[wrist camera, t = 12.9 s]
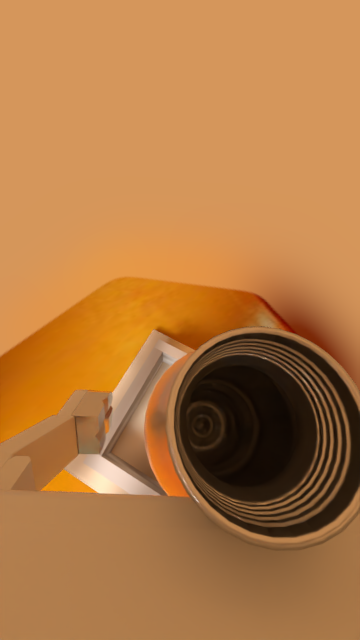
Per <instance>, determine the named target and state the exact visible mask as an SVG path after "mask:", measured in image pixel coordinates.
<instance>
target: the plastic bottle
mask: <svg viewBox="0 0 360 640" xmlns="http://www.w3.org/2000/svg"><path fill="white" fill-rule="evenodd" d="M144 439H145V449H146V453H147V456H148V460H149V463H150V466H151V469H152V471H153V473H154V475H155V477H156V479H157V481H158V483H159V485H160V486H161V487H162V488H163V490H164V491H165V492H166V493H167V495H168V496H185V497H190V498H191V499H192V500H193V501H194V503H195V504H196V505H197V506H198V507H199V509H200V510H201V511H202V512H203V513H204V515H205V516H206V517H208V518H209V519H210V520H211V521H212V522H214V523H215V524H216V525H217V526H219V527H220V528H221V529H222V530H224V531H225V532H226V533H228V534H230V535H232V536H234V537H236V538H238V539H240V540H242V541H244V542H246V543H247V544H250V545H254V546H258V547H262V548H266V549H270V550H274V551H300V550H303V549H307V548H310V547H314V546H317V545H321V544H324V543H325V542H327V541H328V540H330V539H332V538H333V537H335V536H337V535H338V534H340V533H341V532H343V531H344V530H345V529H346V528H347V527H348V526H349V525H350V523H351V522H352V521H353V520H354V519H355V518H356V517H357V516H358V515H359V513H360V391H359V390H358V388H357V386H356V384H355V383H354V381H353V380H352V379H351V378H350V376H349V375H348V374H347V372H346V371H345V370H344V368H343V367H342V366H341V365H340V364H339V363H338V362H337V361H336V360H335V359H334V358H332V357H331V356H330V355H329V354H328V353H327V352H326V351H324V350H323V349H321V348H320V347H318V346H317V345H316V344H314V343H313V342H310V341H309V340H307V339H305V338H303V337H301V336H299V335H297V334H294V333H291V332H288V331H284V330H281V329H276V328H269V327H243V328H238V329H234V330H229V331H227V332H224V333H222V334H220V335H217V336H215V337H213V338H212V339H210V340H209V341H207V342H206V343H204V344H203V345H201V346H200V347H199V348H198V349H197V350H195V351H193V352H190V353H188V354H187V355H185V356H184V357H182V358H181V359H179V360H177V361H176V362H175V363H174V364H173V365H172V366H171V367H170V368H168V369H167V370H166V371H165V373H164V374H163V375H162V377H161V378H160V380H159V381H158V382H157V384H156V386H155V388H154V390H153V392H152V394H151V396H150V398H149V402H148V406H147V409H146V413H145V423H144ZM239 502H246V503H253V504H259V505H247V504H243V503H239Z"/></svg>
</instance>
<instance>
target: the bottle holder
mask: <svg viewBox="0 0 360 640" xmlns="http://www.w3.org/2000/svg"><path fill="white" fill-rule="evenodd" d="M193 351H195V350H194V349H192V348H190V347H188V346H186V345H184V344H182V343H180V342H178V341H176V340H174V339H172V338H170V337H168V336H166V335H164V334H162V333H160V332H158V331H156V330H154V329H153V331H152V333H151V334H150V336H149V337H148V339H147V340H146V342H145V343H144V345H143V347H142V348H141V350H140V351H139V353H138V354H137V356H136V357H135V359H134V361H133V362H132V364H131V365H130V367H129V368H128V370H127V371H126V373H125V375H124V376H123V378H122V379H121V381H120V382H119V384H118V385H117V387H116V389H115V390H114V392H113V393H112V395H113V401H112V403H111V407H112V408H113V419H112V424H111V427H110V430H109V432H108V433H106V441H105V443H104V446H103V448H102V451H101V454H78V456H77V457H76V458H75V459H74V460H73V461H72V462H71V463H69V464H68V465H67V466H66V467H65V468H64V469H65V470H66V471H67V472H69V473H70V474H72V475H73V476H75V477H76V478H78V479H79V480H81V481H82V482H84V483H85V484H86V485H88V486H89V487H91V488H92V489H94V490H95V491H97V492H98V493H108V494H134V495H159V496H168V495H167V493H166V492H165V491H164V490H163V488H162V487H161V486H160V485H159V483H158V481H157V479H156V477H155V475H154V473H153V471H152V469H151V466H150V463H149V460H148V456H147V453H146V449H145V439H144V423H145V413H146V409H147V406H148V402H149V398H150V396H151V394H152V392H153V390H154V388H155V386H156V384H157V382H158V381H159V380H160V378H161V377H162V375H163V374H164V373H165V371H166V370H167V369H168V368H170V367H171V366H172V365H173V364H174V363H175V362H176V361H177V360H179V359H181V358H182V357H184V356H185V355H187V354H188V353H190V352H193Z"/></svg>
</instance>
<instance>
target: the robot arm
mask: <svg viewBox="0 0 360 640" xmlns="http://www.w3.org/2000/svg"><path fill="white" fill-rule="evenodd" d="M112 401H113V395H112V392H108V391H95V390H79V389H78V390H75V391H74V393H73V394H72V395H71V397H70V398H69V399H68V401H67V402H66V403H65V405H64V406H63V407H62V409H61V410H60V412H59V413H58V414H57V415H52V416H51V417H49V418H47V419H45V420H43V421H41V422H39V423H38V424H36V425H34V426H32V427H30V428H28V429H27V430H25V431H23V432H21V433H19V434H17V435H16V436H14V437H12V438H10V439H8V440H6V441H5V442H3V443H1V444H0V640H360V513H359V515H358V516H357V517H356V518H355V519H354V520H353V521H352V522H351V523H350V525H349V526H348V527H347V528H346V529H345V530H344V531H343V532H341V533H340V534H338V535H337V536H335V537H333V538H332V539H330V540H328V541H327V542H325V543H324V544H321V545H317V546H314V547H310V548H307V549H303V550H300V551H274V550H270V549H266V548H262V547H258V546H254V545H250V544H247V543H246V542H244V541H242V540H240V539H238V538H236V537H234V536H232V535H230V534H228V533H226V532H225V531H224V530H222V529H221V528H220V527H219V526H217V525H216V524H215V523H214V522H212V521H211V520H210V519H209V518H208V517H206V516H205V515H204V513H203V512H202V511H201V510H200V509H199V507H198V506H197V505H196V504H195V503H194V501H193V500H192V499H191V498H190V497H185V496H159V495H134V494H108V493H82V492H56V491H40V490H41V489H42V488H43V487H44V486H46V485H47V484H48V483H49V482H50V481H51V480H52V479H53V478H54V477H55V476H56V475H57V474H59V473H60V472H61V471H62V470H63V469H64V468H65V467H66V466H67V465H68V464H69V463H71V462H72V461H73V460H74V459H75V458H76V457H77V456H78V454H101V451H102V448H103V446H104V443H105V441H106V433H108V432H109V430H110V427H111V424H112V419H113V408H112V407H111V403H112ZM239 503H243V504H247V505H259V504H253V503H246V502H239Z"/></svg>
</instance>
